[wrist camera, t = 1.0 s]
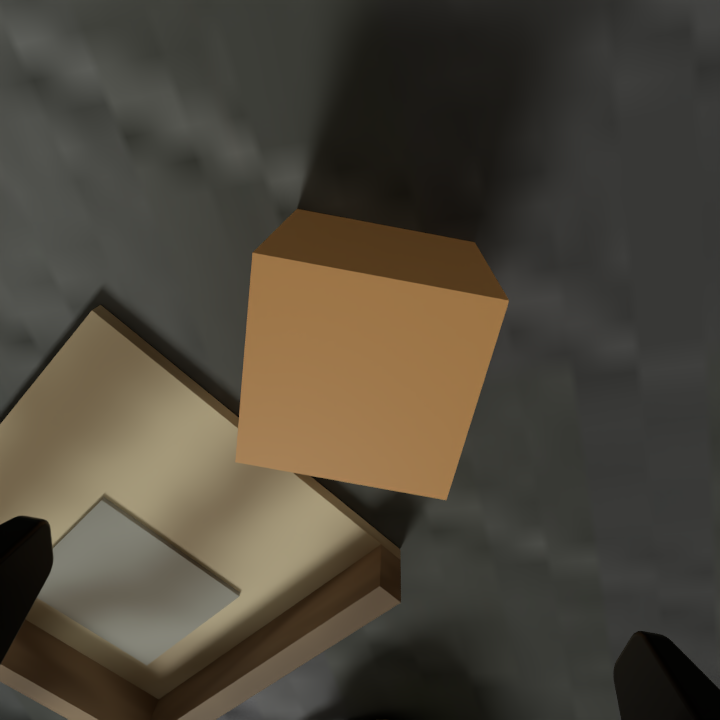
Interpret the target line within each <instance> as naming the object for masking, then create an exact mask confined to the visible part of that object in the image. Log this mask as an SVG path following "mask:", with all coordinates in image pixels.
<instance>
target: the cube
mask: <svg viewBox="0 0 720 720" xmlns="http://www.w3.org/2000/svg"><path fill="white" fill-rule="evenodd" d="M508 302H509V300H508V298H507V296H506V294H505V293H504V291H503V289H502V288H501V286H500V284H499V283H498V281H497V279H496V278H495V276H494V274H493V272H492V271H491V269H490V267H489V266H488V264H487V262H486V261H485V259H484V257H483V255H482V254H481V252H480V250H479V249H478V247H477V245H476V244H475V242H471V241H465V240H460V239H455V238H449V237H444V236H439V235H433V234H428V233H423V232H418V231H412V230H407V229H402V228H396V227H391V226H386V225H380V224H375V223H370V222H364V221H359V220H354V219H349V218H343V217H338V216H333V215H327V214H322V213H317V212H311V211H306V210H301V209H296V210H295V211H294V212H293V213H292V214H291V215H290V216H289V217H288V218H287V219H286V220H285V221H284V222H283V223H282V224H281V225H280V226H279V227H278V228H277V229H276V230H275V231H274V232H273V233H272V234H271V235H270V236H269V237H268V238H267V239H266V240H265V241H264V242H263V243H262V244H261V245H260V246H259V247H258V248H257V249H256V250H255V251H254V252H253V255H252V267H251V279H250V291H249V303H248V315H247V327H246V339H245V351H244V363H243V375H242V387H241V399H240V411H239V423H238V435H237V447H236V459H235V462H236V463H242V464H248V465H253V466H259V467H264V468H270V469H275V470H281V471H287V472H292V473H298V474H303V475H309V476H314V477H320V478H325V479H331V480H337V481H342V482H348V483H353V484H359V485H364V486H370V487H376V488H381V489H387V490H392V491H398V492H403V493H409V494H415V495H420V496H426V497H431V498H437V499H442V500H447V496H448V493H449V490H450V487H451V484H452V481H453V477H454V474H455V471H456V468H457V465H458V461H459V458H460V455H461V452H462V449H463V446H464V442H465V439H466V436H467V433H468V430H469V427H470V423H471V420H472V417H473V414H474V411H475V407H476V404H477V401H478V398H479V395H480V392H481V388H482V385H483V382H484V379H485V376H486V372H487V369H488V366H489V363H490V360H491V357H492V353H493V350H494V347H495V344H496V341H497V337H498V334H499V331H500V328H501V325H502V322H503V318H504V315H505V312H506V309H507V306H508Z"/></svg>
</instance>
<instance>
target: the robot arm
mask: <svg viewBox="0 0 720 720" xmlns="http://www.w3.org/2000/svg"><path fill="white" fill-rule="evenodd" d="M53 559H54V557H53V547H52V537H51V527H50V524H49V522H48V521H47V520H45V519H41V518H35V517H30V516H23V515H22V516H17V517H14V518H12V519H10V520H8V521H6V522H4V523H2V524H0V665H1V663H2V661H3V659H4V657H5V656H6V654H7V652H8V650H9V648H10V646H11V645H12V643H13V641H14V639H15V637H16V635H17V634H18V632H19V630H20V628H21V626H22V624H23V622H24V621H25V619H26V617H27V615H28V613H29V611H30V610H31V608H32V606H33V604H34V602H35V600H36V599H37V597H38V595H39V593H40V591H41V589H42V588H43V586H44V584H45V582H46V580H47V578H48V576H49V574H50V572H51V569H52V566H53ZM614 684H615V689H616V694H617V699H618V705H619V710H620V715H621V720H720V689H719V688H718V687H717V686H716V685H715V684H714V683H713V682H712V681H711V680H710V679H709V678H708V677H707V676H706V675H705V674H704V673H703V672H702V671H701V670H700V669H699V668H698V667H697V666H696V665H695V664H694V663H693V662H692V661H691V660H690V659H689V658H688V657H687V656H686V655H685V654H684V653H683V652H682V651H681V650H680V649H679V648H678V647H677V646H676V645H675V644H674V643H673V642H672V641H671V640H670V639H669V638H667V637H665V636H663V635H660V634H655V633H650V632H645V631H638V632H636V633H634V634H633V635H632V637H631V638H630V640H629V642H628V643H627V645H626V646H625V648H624V650H623V651H622V653H621V655H620V656H619V658H618V659H617V661H616V663H615V667H614Z"/></svg>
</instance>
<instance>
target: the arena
mask: <svg viewBox="0 0 720 720" xmlns="http://www.w3.org/2000/svg"><path fill="white" fill-rule="evenodd" d="M238 423H239V417H237V416H236V415H235V414H234V413H232V412H231V411H230V410H229V409H228V408H226V407H225V406H224V405H223V404H221V403H220V402H219V401H218V400H217V399H215V398H214V397H213V396H212V395H210V394H209V393H208V392H207V391H206V390H204V389H203V388H202V387H201V386H199V385H198V384H197V383H196V382H195V381H193V380H192V379H191V378H190V377H188V376H187V375H186V374H185V373H183V372H182V371H181V370H180V369H179V368H177V367H176V366H175V365H174V364H172V363H171V362H170V361H169V360H168V359H166V358H165V357H164V356H163V355H161V354H160V353H159V352H158V351H157V350H155V349H154V348H153V347H152V346H150V345H149V344H148V343H147V342H145V341H144V340H143V339H142V338H141V337H139V336H138V335H137V334H136V333H134V332H133V331H132V330H131V329H130V328H128V327H127V326H126V325H125V324H123V323H122V322H121V321H120V320H119V319H117V318H116V317H115V316H114V315H112V314H111V313H110V312H109V311H107V310H106V309H105V308H104V307H103V306H101V305H100V306H98V307H96V308H95V309H93V310H92V311H91V312H90V313H89V315H88V316H87V317H86V318H85V320H84V321H83V322H82V323H81V325H80V326H79V327H78V328H77V330H76V331H75V332H74V333H73V335H72V336H71V337H70V338H69V340H68V341H67V342H66V343H65V345H64V346H63V347H62V348H61V349H60V351H59V352H58V353H57V354H56V356H55V357H54V358H53V359H52V361H51V362H50V363H49V364H48V366H47V367H46V368H45V369H44V371H43V372H42V373H41V374H40V376H39V377H38V378H37V379H36V381H35V382H34V383H33V384H32V386H31V387H30V388H29V389H28V390H27V392H26V393H25V394H24V395H23V397H22V398H21V399H20V400H19V402H18V403H17V404H16V405H15V407H14V408H13V409H12V410H11V412H10V413H9V414H8V415H7V417H6V418H5V419H4V420H3V422H2V423H1V424H0V524H2V523H4V522H6V521H8V520H10V519H12V518H14V517H17V516H22V515H23V516H30V517H35V518H41V519H45V520H47V521H48V522H49V524H50V527H51V537H52V547H53V557H54V559H53V566H52V569H51V572H50V574H49V576H48V578H47V580H46V582H45V584H44V586H43V588H42V589H41V591H40V593H39V595H38V597H37V599H36V600H35V602H34V604H33V606H32V608H31V610H30V611H29V613H28V615H27V617H26V619H25V621H24V622H23V624H22V626H21V628H20V630H19V632H18V634H17V635H16V637H15V639H14V641H13V643H12V645H11V646H10V648H9V650H8V652H7V654H6V656H5V657H4V659H3V661H2V663H1V665H0V682H2V683H4V684H6V685H8V686H9V687H11V688H13V689H15V690H17V691H18V692H20V693H22V694H24V695H26V696H27V697H29V698H31V699H33V700H35V701H36V702H38V703H40V704H42V705H44V706H45V707H47V708H49V709H51V710H52V711H54V712H56V713H58V714H60V715H61V716H63V717H65V718H67V719H69V720H216V719H217V718H219V717H220V716H222V715H224V714H225V713H227V712H228V711H230V710H232V709H233V708H235V707H236V706H238V705H239V704H241V703H243V702H244V701H246V700H247V699H249V698H250V697H252V696H254V695H255V694H257V693H258V692H260V691H262V690H263V689H265V688H266V687H268V686H269V685H271V684H273V683H274V682H276V681H277V680H279V679H281V678H282V677H284V676H285V675H287V674H288V673H290V672H292V671H293V670H295V669H296V668H298V667H300V666H301V665H303V664H304V663H306V662H307V661H309V660H311V659H312V658H314V657H315V656H317V655H318V654H320V653H322V652H323V651H325V650H326V649H328V648H330V647H331V646H333V645H334V644H336V643H337V642H339V641H341V640H342V639H344V638H345V637H347V636H349V635H350V634H352V633H353V632H355V631H356V630H358V629H360V628H361V627H363V626H364V625H366V624H367V623H369V622H371V621H372V620H374V619H375V618H377V617H379V616H380V615H382V614H383V613H385V612H386V611H388V610H390V609H391V608H393V607H394V606H396V605H398V604H399V603H401V567H400V549H399V548H398V547H397V546H395V545H394V544H393V543H392V542H391V541H389V540H388V539H387V538H386V537H384V536H383V535H382V534H381V533H380V532H378V531H377V530H376V529H375V528H373V527H372V526H371V525H370V524H369V523H367V522H366V521H365V520H364V519H362V518H361V517H360V516H359V515H357V514H356V513H355V512H354V511H353V510H351V509H350V508H349V507H348V506H346V505H345V504H344V503H343V502H342V501H340V500H339V499H338V498H337V497H335V496H334V495H333V494H332V493H331V492H329V491H328V490H327V489H326V488H324V487H323V486H322V485H321V484H320V483H318V482H317V481H316V480H315V479H313V478H312V477H311V476H309V475H303V474H298V473H292V472H287V471H281V470H275V469H270V468H264V467H259V466H253V465H248V464H242V463H236V462H235V459H236V447H237V435H238Z"/></svg>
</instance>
